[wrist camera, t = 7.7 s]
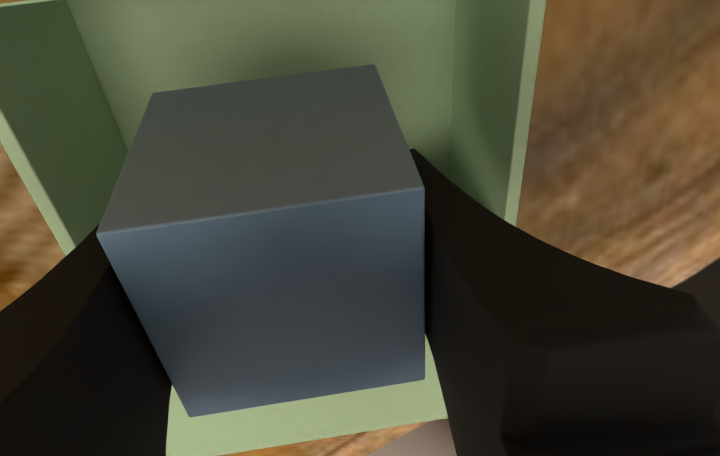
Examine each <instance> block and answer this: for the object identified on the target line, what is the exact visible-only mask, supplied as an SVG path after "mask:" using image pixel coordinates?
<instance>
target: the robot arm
mask: <svg viewBox="0 0 720 456" xmlns="http://www.w3.org/2000/svg"><path fill="white" fill-rule="evenodd" d="M409 150H410V153H411V155H412V158H413V160H414V163H415V165H416V168H417V170H418V173H419V175H420V178H421V180H422V183H423V185H424V188H425V334H426V337H427V340H428V343H429V346H430V349H431V352H432V356H433V359H434V363H435V367H436V371H437V375H438V379H439V383H440V387H441V391H442V395H443V399H444V403H445V407H446V411H447V415H448V420H449V423H450V428H451V432H452V436H453V440H454V445H455V449H456V453H457V456H720V426H719V425H718V423H717V422H716V421H715V419H714V418H713V415H714V413H715V412H716V410H717V408H718V407H719V405H720V324H719V323H718V322H717V320H716V319H715V318H714V317H713V316H712V315H711V314H710V312H709V311H708V310H707V309H706V308H705V307H704V306H703V305H702V304H701V303H700V302H699V301H698V300H697V299H696V298H695V297H694V295H692V294H689V293H685V292H681V291H678V290H674V289H671V288H667V287H664V286H660V285H657V284H653V283H650V282H646V281H642V280H639V279H635V278H632V277H629V276H626V275H623V274H621V273H618V272H615V271H612V270H609V269H607V268H604V267H601V266H598V265H596V264H593V263H590V262H588V261H585V260H583V259H580V258H578V257H576V256H573V255H571V254H569V253H567V252H564V251H562V250H560V249H558V248H556V247H553V246H551V245H549V244H547V243H545V242H543V241H541V240H539V239H537V238H535V237H533V236H531V235H530V234H528V233H526V232H524V231H522V230H521V229H519V228H517V227H515V226H514V225H512V224H510V223H508V222H507V221H505V220H504V219H502V218H500V217H499V216H497V215H496V214H494V213H493V212H491V211H490V210H488V209H487V208H485V207H484V206H483V205H481V204H480V203H478V202H477V201H475V200H474V199H473V198H471V197H470V196H469V195H468V194H466V193H465V192H464V191H463V190H461V189H460V188H459V187H458V186H456V185H455V184H454V183H453V182H452V181H450V180H449V179H448V178H447V177H446V176H445V175H444V174H442V173H441V172H440V171H439V170H438V169H437V168H436V167H434V166H433V165H432V164H431V163H430V162H429V161H428V160H427V159H426V158H425V157H424V156H422V155H421V154H420V153H419V152H418V151H417V150H415V149H409ZM99 225H100V223H99V224H98V225H97V226H96V227H95V228H94V229H93V230H92V231H91V233H90V234H89V235H88V236H87V237H86V238H85V239H84V240H83V241H82V242H81V243H80V244H79V245H78V246H77V247H75V248H74V249H73V250H72V251H71V252H70V253H69V254H68V255H67V256H66V257H65V258H64V259H62V260H61V261H60V262H59V263H58V264H57V265H56V266H55V267H54V268H53V269H52V270H51V271H50V272H48V273H47V274H46V275H45V276H44V277H43V278H42V279H41V280H39V281H38V282H37V283H36V284H35V285H34V286H32V287H31V288H30V289H29V290H27V291H26V292H25V293H24V294H23V295H21V296H20V297H19V298H17V299H16V300H15V301H13V302H12V303H11V304H10V305H8V306H7V307H6V308H4V309H3V310H2V311H1V312H0V456H166V440H167V428H168V415H169V403H170V395H171V389H172V383H171V381H170V379H169V377H168V375H167V373H166V371H165V369H164V367H163V365H162V363H161V361H160V359H159V357H158V355H157V353H156V352H155V350H154V348H153V346H152V344H151V342H150V340H149V338H148V336H147V334H146V332H145V330H144V328H143V326H142V324H141V322H140V320H139V318H138V316H137V314H136V312H135V310H134V308H133V306H132V304H131V302H130V300H129V298H128V297H127V295H126V293H125V291H124V289H123V287H122V285H121V283H120V281H119V279H118V277H117V275H116V273H115V271H114V269H113V267H112V265H111V263H110V261H109V259H108V257H107V255H106V253H105V251H104V249H103V247H102V245H101V243H100V242H99V240H98V238H97V235H96V232H97V230H98V227H99Z"/></svg>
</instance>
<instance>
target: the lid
mask: <svg viewBox="0 0 720 456" xmlns="http://www.w3.org/2000/svg"><path fill="white" fill-rule="evenodd" d="M17 1H26V0H0V3H9V2H17Z"/></svg>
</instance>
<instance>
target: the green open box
mask: <svg viewBox="0 0 720 456" xmlns="http://www.w3.org/2000/svg"><path fill="white" fill-rule="evenodd" d="M545 6H546V0H26V1H17V2H9V3H0V142H1V144H2V146H3V148H4V149H5V151H6V153H7V155H8V156H9V158H10V160H11V162H12V163H13V165H14V167H15V169H16V170H17V172H18V174H19V176H20V177H21V179H22V181H23V182H24V184H25V186H26V188H27V189H28V191H29V193H30V195H31V196H32V198H33V200H34V202H35V203H36V205H37V207H38V209H39V210H40V212H41V214H42V216H43V217H44V219H45V221H46V222H47V224H48V226H49V228H50V229H51V231H52V233H53V235H54V236H55V238H56V240H57V242H58V243H59V245H60V247H61V249H62V250H63V252H64V254H65V256H67V255H68V254H69V253H70V252H71V251H72V250H73V249H74V248H75V247H77V246H78V245H79V244H80V243H81V242H82V241H83V240H84V239H85V238H86V237H87V236H88V235H89V234H90V233H91V231H92V230H93V229H94V228H95V227H96V226H97V225H98V224H99V223H100V222H101V220H102V217H103V215H104V212H105V210H106V207H107V205H108V202H109V200H110V197H111V195H112V192H113V190H114V187H115V185H116V182H117V180H118V177H119V175H120V172H121V170H122V167H123V165H124V162H125V160H126V157H127V155H128V152H129V150H130V147H131V145H132V142H133V140H134V137H135V135H136V132H137V130H138V127H139V125H140V122H141V120H142V117H143V115H144V112H145V110H146V107H147V105H148V102H149V100H150V97H151V95H152V93H154V92H162V91H170V90H178V89H185V88H193V87H201V86H209V85H216V84H224V83H232V82H239V81H247V80H255V79H263V78H270V77H278V76H286V75H294V74H301V73H309V72H317V71H325V70H332V69H340V68H348V67H356V66H363V65H371V64H375V66H376V68H377V70H378V73H379V75H380V78H381V80H382V83H383V85H384V88H385V90H386V93H387V95H388V98H389V100H390V103H391V105H392V108H393V110H394V113H395V115H396V118H397V120H398V123H399V125H400V128H401V130H402V133H403V135H404V138H405V140H406V143H407V145H408V148H409V149H415V150H417V151H418V152H419V153H420V154H421V155H422V156H424V157H425V158H426V159H427V160H428V161H429V162H430V163H431V164H432V165H433V166H434V167H436V168H437V169H438V170H439V171H440V172H441V173H442V174H444V175H445V176H446V177H447V178H448V179H449V180H450V181H452V182H453V183H454V184H455V185H456V186H458V187H459V188H460V189H461V190H463V191H464V192H465V193H466V194H468V195H469V196H470V197H471V198H473V199H474V200H475V201H477V202H478V203H480V204H481V205H483V206H484V207H485V208H487V209H488V210H490V211H491V212H493V213H494V214H496V215H497V216H499V217H500V218H502V219H504V220H505V221H507V222H508V223H510V224H512V225H514V226H515V227H516V221H517V214H518V206H519V199H520V191H521V184H522V177H523V169H524V162H525V154H526V147H527V140H528V132H529V125H530V117H531V110H532V103H533V95H534V88H535V80H536V73H537V66H538V58H539V51H540V43H541V36H542V29H543V21H544V14H545ZM443 418H448V415H447V411H446V407H445V403H444V399H443V395H442V391H441V387H440V383H439V379H438V375H437V371H436V367H435V363H434V359H433V356H432V352H431V349H430V346H429V343H428V340H427V337H426V334H425V379H424V380H421V381H415V382H408V383H402V384H396V385H390V386H384V387H377V388H371V389H365V390H359V391H353V392H346V393H340V394H334V395H328V396H322V397H315V398H309V399H303V400H297V401H291V402H284V403H278V404H272V405H266V406H260V407H253V408H247V409H241V410H235V411H229V412H222V413H216V414H210V415H204V416H198V417H189V416H188V414H187V412H186V410H185V408H184V407H183V405H182V403H181V401H180V399H179V397H178V395H177V393H176V391H175V389H174V387H173V385H172V389H171V395H170V403H169V415H168V428H167V440H166V454H167V456H219V455H225V454H231V453H238V452H244V451H250V450H256V449H262V448H268V447H274V446H280V445H286V444H292V443H298V442H304V441H310V440H316V439H323V438H329V437H335V436H341V435H347V434H353V433H359V432H365V431H371V430H377V429H383V428H389V427H395V426H401V425H407V424H414V423H420V422H426V421H432V420H438V419H443Z"/></svg>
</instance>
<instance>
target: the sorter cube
mask: <svg viewBox="0 0 720 456" xmlns="http://www.w3.org/2000/svg"><path fill="white" fill-rule="evenodd" d="M96 235H97V238H98V240H99V242H100V243H101V245H102V247H103V249H104V251H105V253H106V255H107V257H108V259H109V261H110V263H111V265H112V267H113V269H114V271H115V273H116V275H117V277H118V279H119V281H120V283H121V285H122V287H123V289H124V291H125V293H126V295H127V297H128V298H129V300H130V302H131V304H132V306H133V308H134V310H135V312H136V314H137V316H138V318H139V320H140V322H141V324H142V326H143V328H144V330H145V332H146V334H147V336H148V338H149V340H150V342H151V344H152V346H153V348H154V350H155V352H156V353H157V355H158V357H159V359H160V361H161V363H162V365H163V367H164V369H165V371H166V373H167V375H168V377H169V379H170V381H171V383H172V385H173V387H174V389H175V391H176V393H177V395H178V397H179V399H180V401H181V403H182V405H183V407H184V408H185V410H186V412H187V414H188V416H189V417H198V416H204V415H210V414H216V413H222V412H229V411H235V410H241V409H247V408H253V407H260V406H266V405H272V404H278V403H284V402H291V401H297V400H303V399H309V398H315V397H322V396H328V395H334V394H340V393H346V392H353V391H359V390H365V389H371V388H377V387H384V386H390V385H396V384H402V383H408V382H415V381H421V380H424V379H425V188H424V185H423V183H422V180H421V178H420V175H419V173H418V170H417V168H416V165H415V163H414V160H413V158H412V155H411V153H410V150H409V148H408V145H407V143H406V140H405V138H404V135H403V133H402V130H401V128H400V125H399V123H398V120H397V118H396V115H395V113H394V110H393V108H392V105H391V103H390V100H389V98H388V95H387V93H386V90H385V88H384V85H383V83H382V80H381V78H380V75H379V73H378V70H377V68H376V66H375V64H371V65H363V66H356V67H348V68H340V69H332V70H325V71H317V72H309V73H301V74H294V75H286V76H278V77H270V78H263V79H255V80H247V81H239V82H232V83H224V84H216V85H209V86H201V87H193V88H185V89H178V90H170V91H162V92H154V93H152V95H151V97H150V100H149V102H148V105H147V107H146V110H145V112H144V115H143V117H142V120H141V122H140V125H139V127H138V130H137V132H136V135H135V137H134V140H133V142H132V145H131V147H130V150H129V152H128V155H127V157H126V160H125V162H124V165H123V167H122V170H121V172H120V175H119V177H118V180H117V182H116V185H115V187H114V190H113V192H112V195H111V197H110V200H109V202H108V205H107V207H106V210H105V212H104V215H103V217H102V220H101V222H100V225H99V227H98V230H97V232H96Z"/></svg>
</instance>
